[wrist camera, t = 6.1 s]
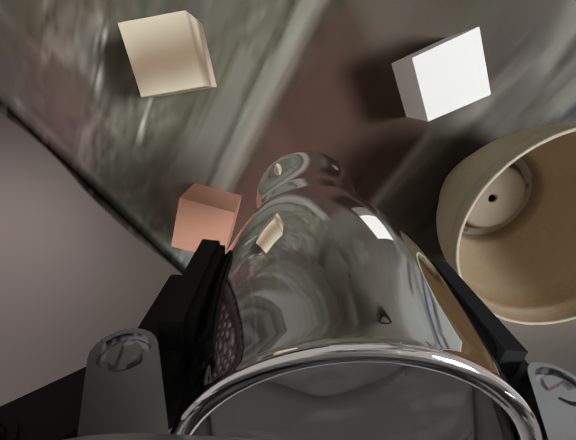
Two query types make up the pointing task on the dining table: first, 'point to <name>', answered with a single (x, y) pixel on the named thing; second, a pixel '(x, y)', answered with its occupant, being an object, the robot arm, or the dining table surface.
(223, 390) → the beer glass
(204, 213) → the rust block
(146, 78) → the beech block
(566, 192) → the planter bowl
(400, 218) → the dining table surface
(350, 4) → the dining table surface
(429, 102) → the cream block
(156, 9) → the dining table surface
